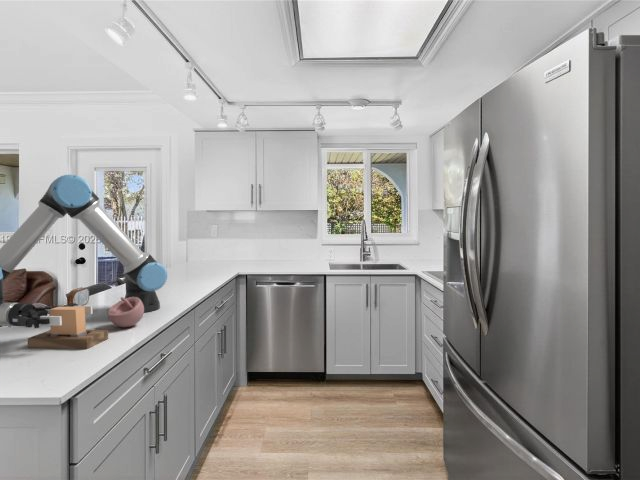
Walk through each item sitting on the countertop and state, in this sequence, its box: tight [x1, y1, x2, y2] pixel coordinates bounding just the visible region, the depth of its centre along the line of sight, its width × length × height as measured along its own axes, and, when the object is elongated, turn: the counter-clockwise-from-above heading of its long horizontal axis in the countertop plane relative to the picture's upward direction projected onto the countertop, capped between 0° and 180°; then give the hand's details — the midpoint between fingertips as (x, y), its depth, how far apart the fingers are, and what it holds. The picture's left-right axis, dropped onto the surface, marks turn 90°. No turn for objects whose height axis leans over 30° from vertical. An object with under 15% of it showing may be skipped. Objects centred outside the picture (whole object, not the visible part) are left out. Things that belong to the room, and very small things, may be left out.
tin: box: [66, 287, 90, 306], centre depth 178 cm, size 15×3×8 cm, turn 5°
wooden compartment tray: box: [26, 329, 109, 350], centre depth 125 cm, size 10×20×3 cm, turn 84°
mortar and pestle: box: [107, 296, 145, 328], centre depth 143 cm, size 12×12×12 cm
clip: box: [49, 307, 87, 337], centre depth 124 cm, size 4×10×12 cm, turn 84°
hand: (77, 315), depth 124 cm, fingers open, 13 cm apart
